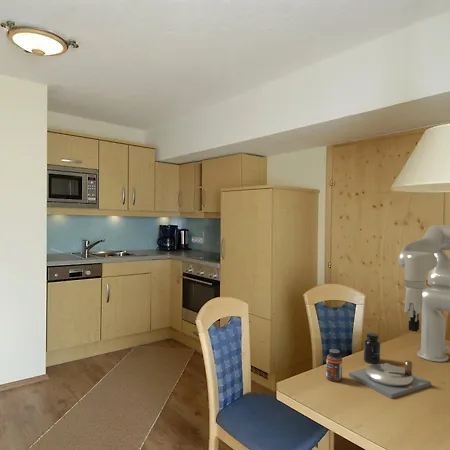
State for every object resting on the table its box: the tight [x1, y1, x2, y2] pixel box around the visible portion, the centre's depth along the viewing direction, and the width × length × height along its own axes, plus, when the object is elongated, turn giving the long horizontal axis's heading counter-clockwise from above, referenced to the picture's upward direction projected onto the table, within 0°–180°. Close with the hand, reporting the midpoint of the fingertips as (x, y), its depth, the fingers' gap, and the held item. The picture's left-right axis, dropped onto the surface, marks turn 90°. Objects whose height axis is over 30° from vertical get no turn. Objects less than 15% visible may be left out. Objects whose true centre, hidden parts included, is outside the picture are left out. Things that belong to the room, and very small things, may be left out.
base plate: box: [348, 362, 432, 399], centre depth 144 cm, size 22×20×2 cm
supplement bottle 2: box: [363, 332, 381, 364], centre depth 164 cm, size 7×7×12 cm
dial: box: [365, 360, 413, 387], centre depth 144 cm, size 17×17×6 cm
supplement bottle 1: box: [325, 348, 343, 383], centre depth 146 cm, size 6×6×11 cm
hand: (413, 329), depth 147 cm, fingers closed
